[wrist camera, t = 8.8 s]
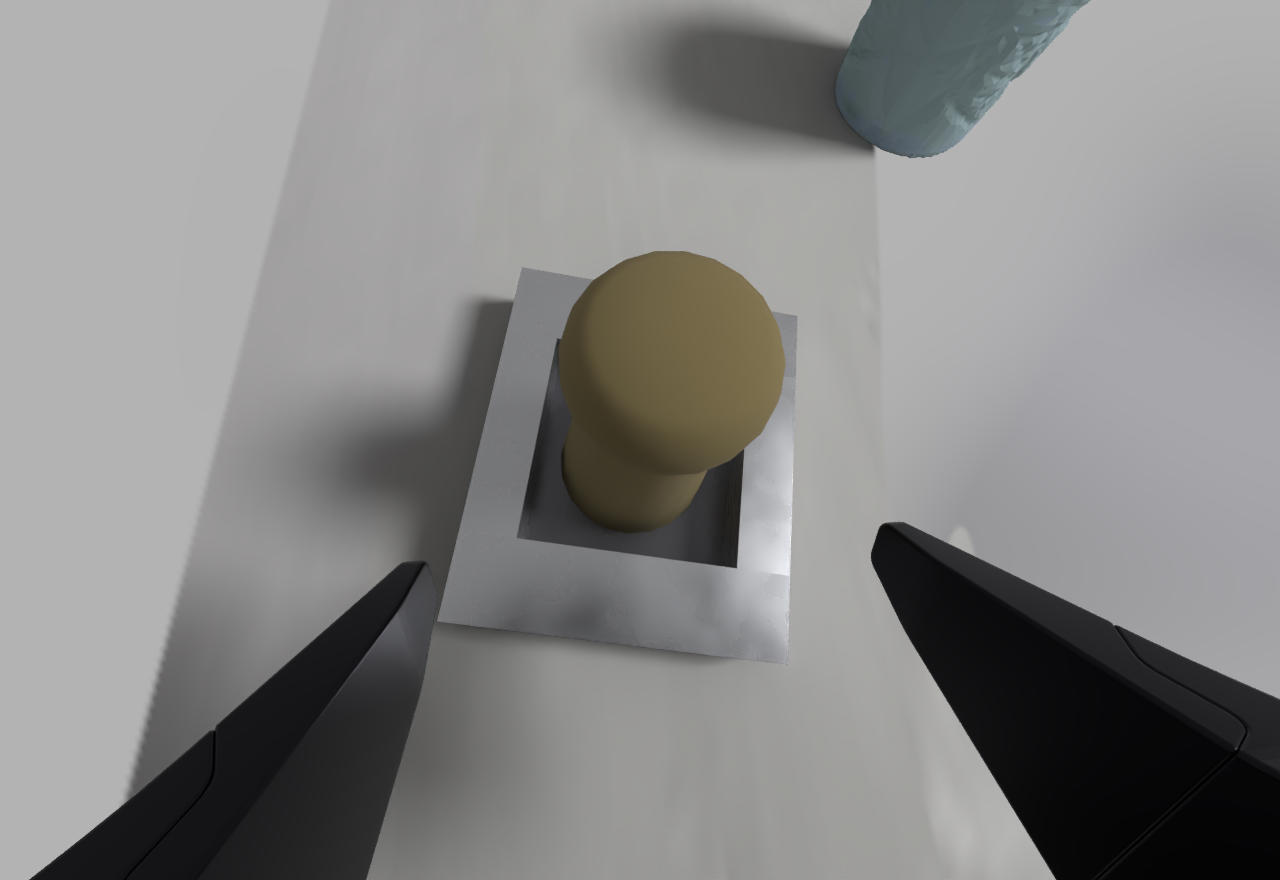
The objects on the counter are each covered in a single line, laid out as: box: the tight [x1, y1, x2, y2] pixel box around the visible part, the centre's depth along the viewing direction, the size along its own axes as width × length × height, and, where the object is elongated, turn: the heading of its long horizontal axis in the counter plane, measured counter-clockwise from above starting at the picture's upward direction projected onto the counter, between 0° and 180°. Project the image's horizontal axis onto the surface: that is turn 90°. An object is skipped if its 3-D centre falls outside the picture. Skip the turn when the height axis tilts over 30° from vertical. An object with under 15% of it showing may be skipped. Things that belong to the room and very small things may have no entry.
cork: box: [558, 251, 786, 534], centre depth 15 cm, size 6×6×11 cm
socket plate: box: [437, 267, 797, 665], centre depth 19 cm, size 14×12×3 cm
